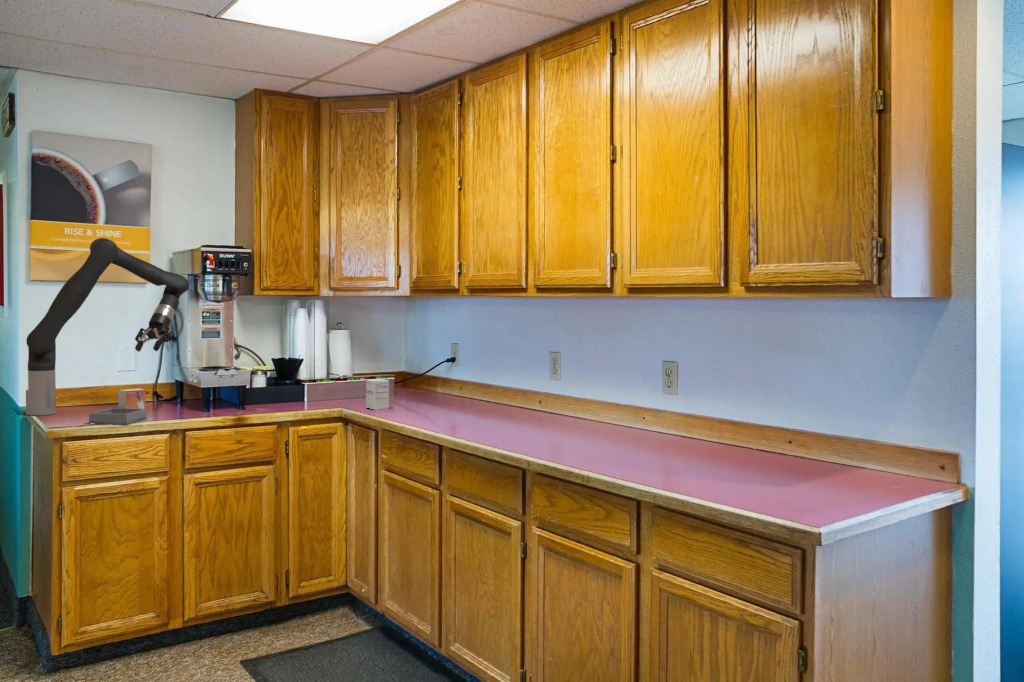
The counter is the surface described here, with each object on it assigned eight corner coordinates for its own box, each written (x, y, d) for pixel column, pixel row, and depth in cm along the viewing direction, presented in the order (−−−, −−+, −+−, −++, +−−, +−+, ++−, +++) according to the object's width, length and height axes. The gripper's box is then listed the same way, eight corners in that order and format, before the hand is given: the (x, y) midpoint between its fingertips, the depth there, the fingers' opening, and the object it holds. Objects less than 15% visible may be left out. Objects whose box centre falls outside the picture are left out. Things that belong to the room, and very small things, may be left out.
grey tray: (89, 424, 291) (89, 413, 291) (110, 418, 305) (110, 407, 305) (126, 425, 291) (126, 414, 290) (146, 419, 304) (146, 408, 304)
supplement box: (365, 408, 341) (365, 379, 340) (381, 407, 346) (381, 378, 345) (373, 411, 335) (373, 380, 335) (389, 409, 340) (389, 380, 339)
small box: (125, 418, 306) (125, 390, 306) (118, 416, 310) (117, 389, 309) (145, 416, 312) (145, 389, 312) (138, 414, 316) (138, 388, 315)
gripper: (142, 312, 327) (125, 345, 318) (171, 311, 323) (155, 344, 314) (153, 323, 333) (137, 356, 324) (182, 322, 329) (166, 355, 320)
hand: (146, 350), depth 319 cm, fingers open, 8 cm apart
